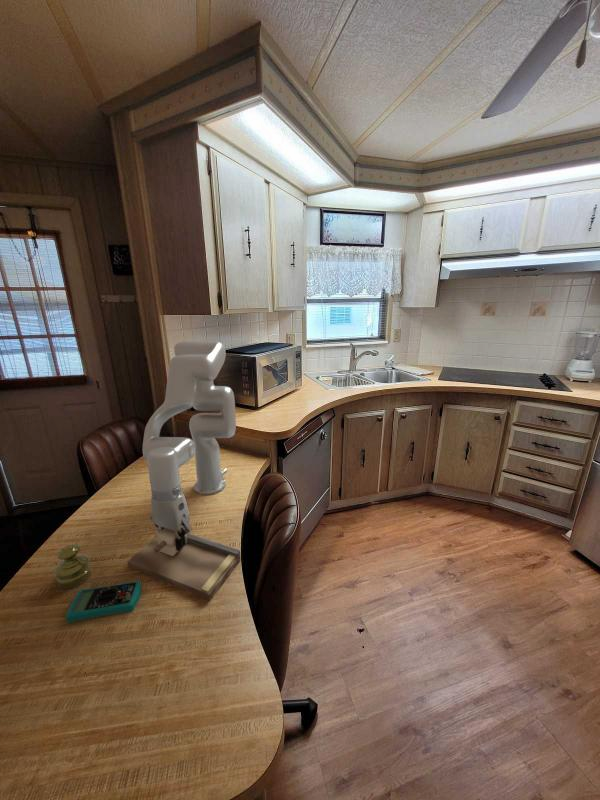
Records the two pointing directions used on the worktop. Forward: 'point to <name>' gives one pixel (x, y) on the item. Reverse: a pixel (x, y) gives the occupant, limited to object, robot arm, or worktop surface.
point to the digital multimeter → (104, 601)
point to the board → (189, 565)
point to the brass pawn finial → (72, 567)
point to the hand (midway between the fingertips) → (173, 544)
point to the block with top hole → (167, 542)
